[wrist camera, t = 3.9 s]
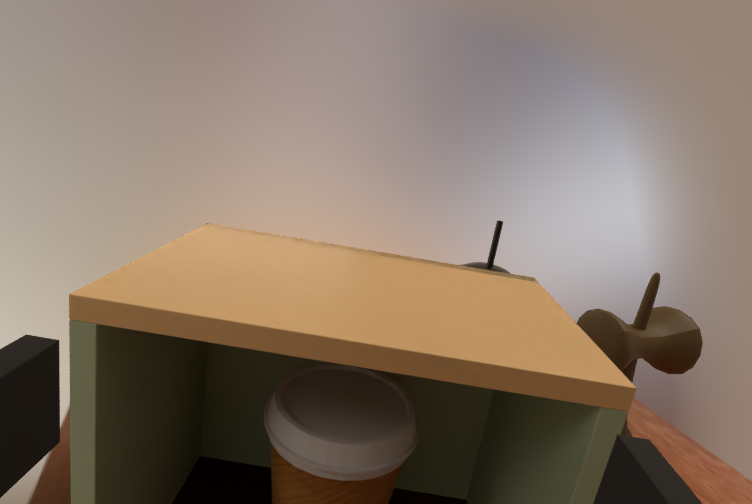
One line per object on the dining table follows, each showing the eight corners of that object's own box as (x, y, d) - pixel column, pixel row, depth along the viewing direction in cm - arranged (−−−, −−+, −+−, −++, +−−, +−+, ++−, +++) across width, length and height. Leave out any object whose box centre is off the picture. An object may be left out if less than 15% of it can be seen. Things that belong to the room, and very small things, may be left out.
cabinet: (527, 706, 25) (637, 387, 20) (71, 632, 25) (68, 293, 20) (477, 491, 40) (534, 277, 35) (191, 444, 39) (207, 223, 35)
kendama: (653, 486, 44) (730, 286, 39) (576, 503, 40) (649, 284, 35) (603, 444, 49) (664, 263, 44) (530, 455, 45) (588, 259, 40)
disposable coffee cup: (413, 603, 29) (452, 440, 26) (258, 646, 26) (282, 461, 22) (362, 490, 38) (387, 355, 35) (239, 509, 34) (255, 361, 31)
